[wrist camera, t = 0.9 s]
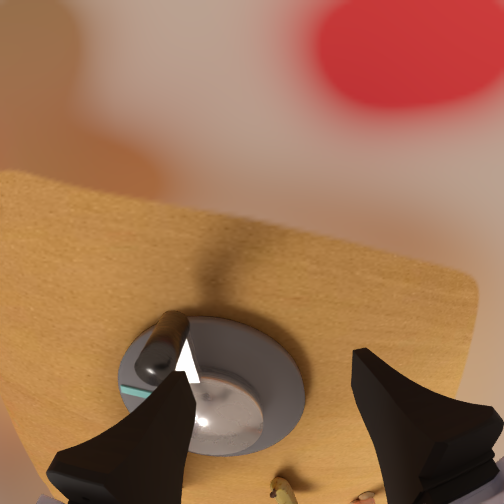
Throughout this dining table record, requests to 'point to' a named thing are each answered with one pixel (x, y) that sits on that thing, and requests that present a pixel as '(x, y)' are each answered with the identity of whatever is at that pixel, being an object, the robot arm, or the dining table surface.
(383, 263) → the dining table surface
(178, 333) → the dial
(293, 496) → the banana
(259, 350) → the dial base
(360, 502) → the grandmother figurine
